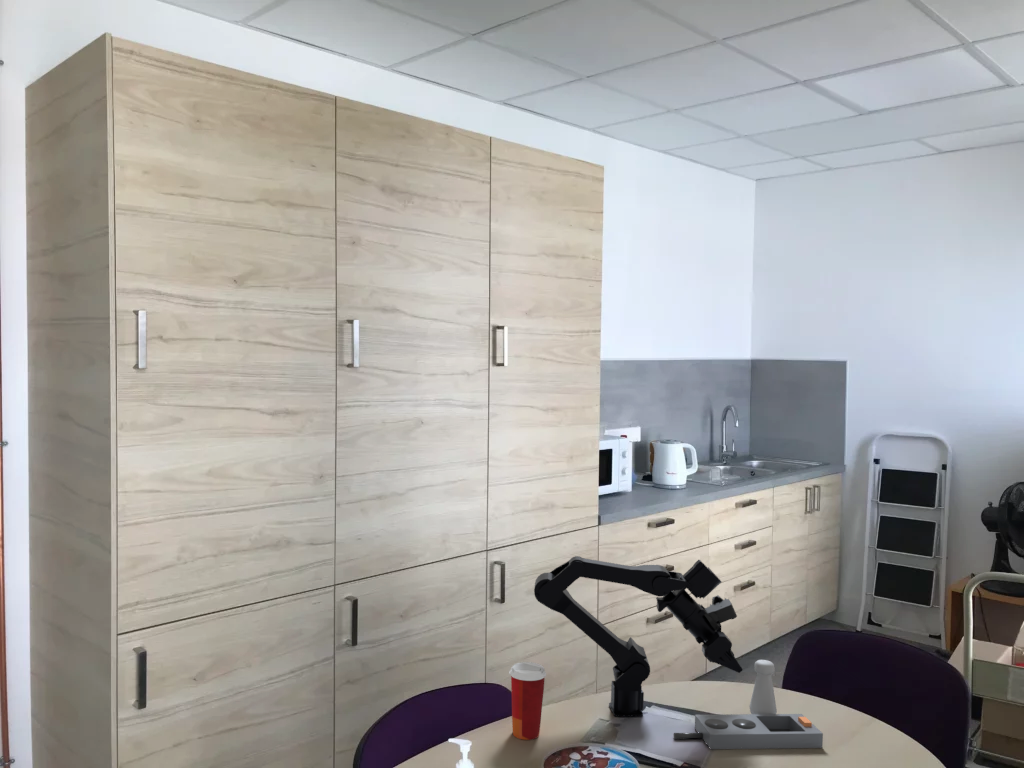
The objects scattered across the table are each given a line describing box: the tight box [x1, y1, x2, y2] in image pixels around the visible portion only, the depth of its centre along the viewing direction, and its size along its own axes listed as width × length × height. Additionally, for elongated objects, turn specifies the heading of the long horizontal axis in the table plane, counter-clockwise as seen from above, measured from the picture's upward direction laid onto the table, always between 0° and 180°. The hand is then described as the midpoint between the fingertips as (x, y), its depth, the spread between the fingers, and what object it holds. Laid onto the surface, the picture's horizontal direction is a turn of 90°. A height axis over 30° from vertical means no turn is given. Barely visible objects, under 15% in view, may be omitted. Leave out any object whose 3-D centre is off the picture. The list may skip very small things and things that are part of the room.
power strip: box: [672, 713, 824, 750], centre depth 168 cm, size 30×10×4 cm, turn 95°
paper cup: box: [508, 661, 547, 741], centre depth 167 cm, size 8×8×14 cm
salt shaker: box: [749, 659, 778, 714], centre depth 178 cm, size 6×6×13 cm
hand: (736, 663), depth 178 cm, fingers open, 9 cm apart
